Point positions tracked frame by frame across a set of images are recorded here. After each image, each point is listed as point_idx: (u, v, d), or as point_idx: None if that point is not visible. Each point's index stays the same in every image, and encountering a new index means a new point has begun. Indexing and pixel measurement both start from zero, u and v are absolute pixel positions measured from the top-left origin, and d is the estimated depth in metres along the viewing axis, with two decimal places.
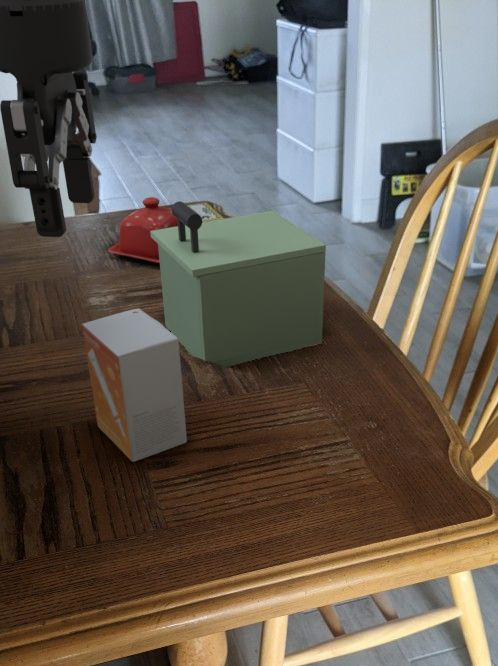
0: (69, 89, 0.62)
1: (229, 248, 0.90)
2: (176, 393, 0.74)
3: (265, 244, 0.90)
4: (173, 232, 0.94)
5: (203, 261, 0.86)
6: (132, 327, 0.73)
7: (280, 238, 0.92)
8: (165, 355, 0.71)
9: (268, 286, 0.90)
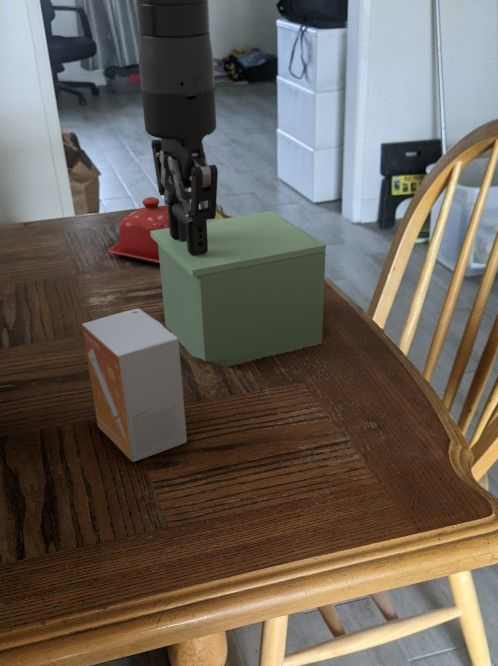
0: None
1: (229, 248, 0.90)
2: (176, 393, 0.74)
3: (265, 244, 0.90)
4: None
5: (203, 261, 0.86)
6: (132, 327, 0.73)
7: (280, 238, 0.92)
8: (166, 355, 0.71)
9: (268, 286, 0.90)
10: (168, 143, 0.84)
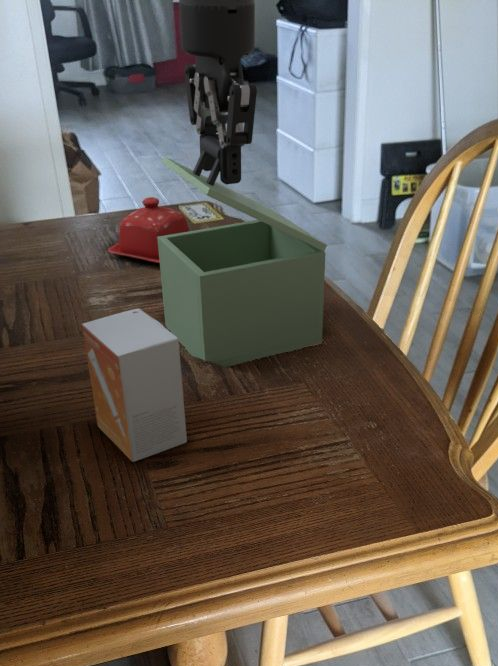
0: None
1: (240, 199, 0.87)
2: (176, 393, 0.74)
3: (274, 216, 0.89)
4: (186, 168, 0.90)
5: (218, 190, 0.83)
6: (132, 327, 0.73)
7: (286, 222, 0.91)
8: (166, 355, 0.71)
9: (268, 286, 0.90)
10: (204, 64, 0.81)
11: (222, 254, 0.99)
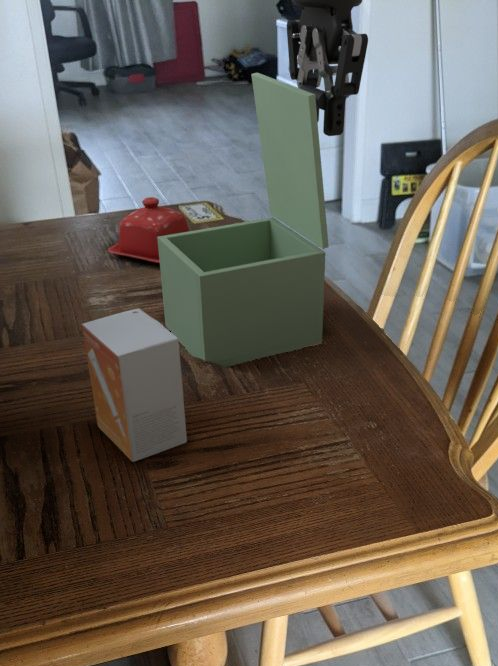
0: None
1: None
2: (176, 393, 0.74)
3: None
4: None
5: None
6: (132, 327, 0.73)
7: None
8: (165, 355, 0.71)
9: (268, 286, 0.90)
10: (312, 17, 0.83)
11: (222, 254, 0.99)
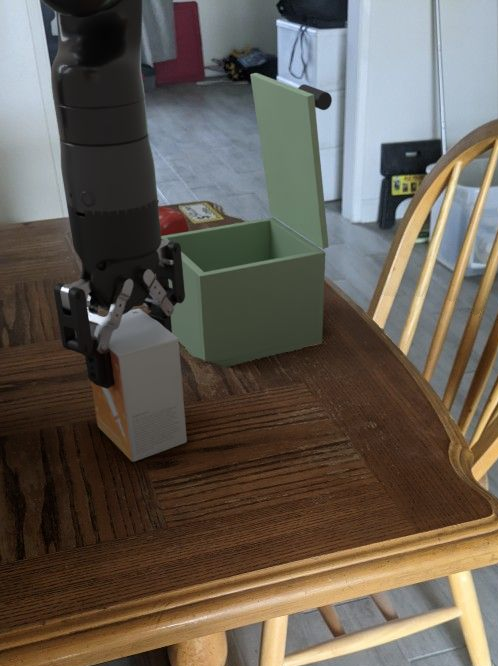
0: (145, 264, 0.70)
1: None
2: (176, 393, 0.74)
3: None
4: None
5: None
6: (132, 328, 0.73)
7: None
8: (165, 355, 0.71)
9: (268, 286, 0.90)
10: None
11: (222, 254, 0.99)
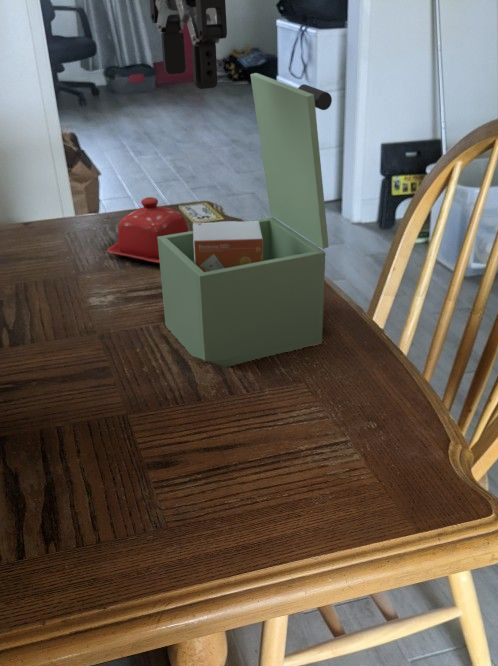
0: None
1: None
2: None
3: None
4: None
5: None
6: (225, 228, 0.91)
7: None
8: None
9: (268, 286, 0.90)
10: None
11: None
